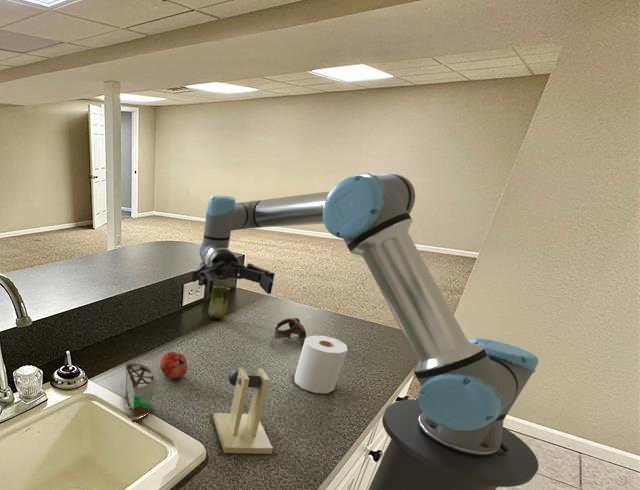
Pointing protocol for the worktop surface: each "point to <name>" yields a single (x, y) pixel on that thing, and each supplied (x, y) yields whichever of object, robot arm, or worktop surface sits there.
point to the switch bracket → (244, 419)
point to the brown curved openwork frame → (291, 329)
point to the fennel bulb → (218, 302)
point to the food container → (139, 390)
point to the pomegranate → (173, 365)
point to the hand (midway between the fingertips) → (240, 287)
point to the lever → (253, 380)
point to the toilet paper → (320, 364)
